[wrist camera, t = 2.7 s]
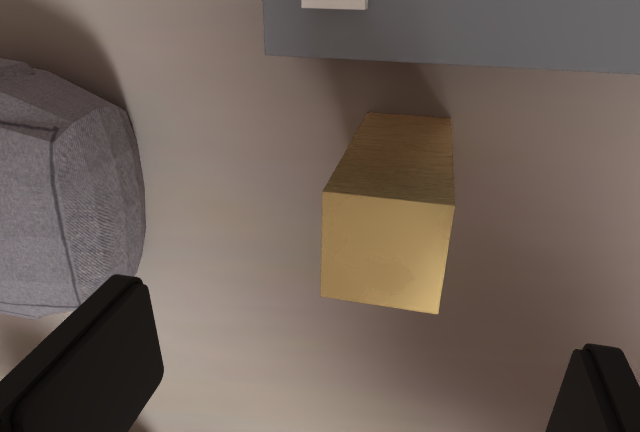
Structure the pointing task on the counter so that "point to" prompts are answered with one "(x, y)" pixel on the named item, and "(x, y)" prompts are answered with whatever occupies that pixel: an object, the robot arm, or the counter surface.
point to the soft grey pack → (64, 193)
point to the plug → (390, 214)
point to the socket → (461, 32)
